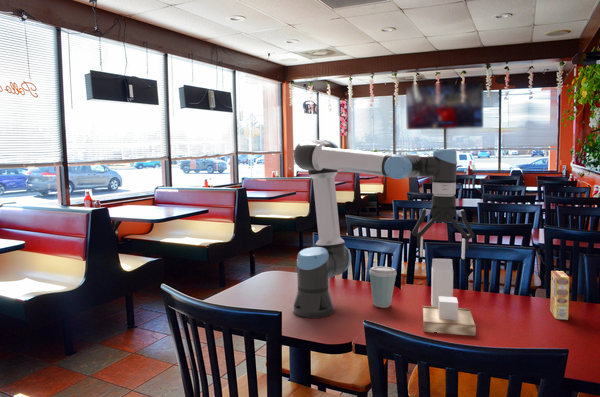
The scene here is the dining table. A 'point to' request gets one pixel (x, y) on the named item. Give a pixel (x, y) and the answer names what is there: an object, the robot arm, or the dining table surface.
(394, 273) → the disposable coffee cup
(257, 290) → the dining table surface
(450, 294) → the milk carton
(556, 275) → the candy box
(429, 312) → the board
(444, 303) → the white cube
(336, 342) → the dining table surface
